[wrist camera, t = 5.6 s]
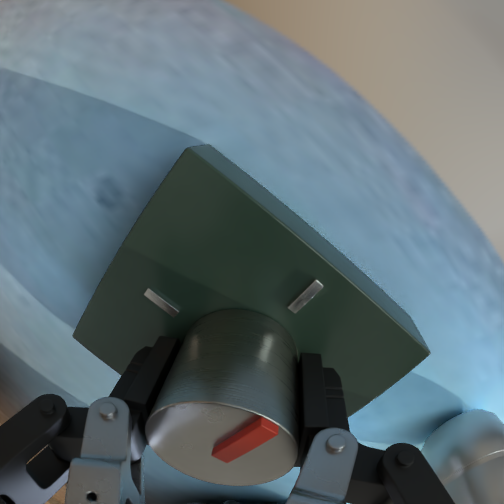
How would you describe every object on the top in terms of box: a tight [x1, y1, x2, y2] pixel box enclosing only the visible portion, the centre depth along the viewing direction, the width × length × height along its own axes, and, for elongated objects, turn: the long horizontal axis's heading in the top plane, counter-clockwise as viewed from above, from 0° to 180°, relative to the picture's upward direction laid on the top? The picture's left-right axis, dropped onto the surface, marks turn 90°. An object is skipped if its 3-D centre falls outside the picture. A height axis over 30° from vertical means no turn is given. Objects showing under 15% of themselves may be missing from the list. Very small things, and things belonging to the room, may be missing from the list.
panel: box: [73, 144, 430, 418], centre depth 13 cm, size 12×10×3 cm
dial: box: [145, 309, 299, 486], centre depth 10 cm, size 4×4×5 cm
